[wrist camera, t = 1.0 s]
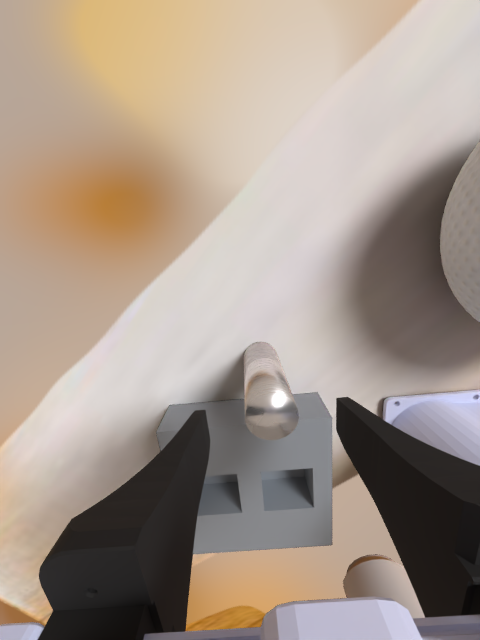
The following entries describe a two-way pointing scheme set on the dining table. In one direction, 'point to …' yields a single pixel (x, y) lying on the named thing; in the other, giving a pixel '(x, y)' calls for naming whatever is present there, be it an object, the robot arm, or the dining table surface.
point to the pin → (267, 394)
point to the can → (381, 582)
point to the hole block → (261, 479)
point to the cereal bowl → (463, 236)
